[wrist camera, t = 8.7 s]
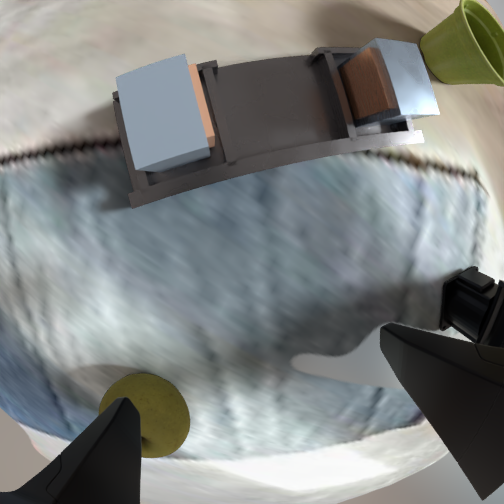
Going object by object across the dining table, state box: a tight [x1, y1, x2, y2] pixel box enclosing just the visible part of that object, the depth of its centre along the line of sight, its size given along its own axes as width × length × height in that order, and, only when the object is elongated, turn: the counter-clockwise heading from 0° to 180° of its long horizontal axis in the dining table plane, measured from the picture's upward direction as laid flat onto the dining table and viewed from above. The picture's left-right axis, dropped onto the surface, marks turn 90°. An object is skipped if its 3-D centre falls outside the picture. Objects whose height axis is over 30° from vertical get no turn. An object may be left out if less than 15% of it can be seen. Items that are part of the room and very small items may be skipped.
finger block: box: [116, 54, 215, 172], centre depth 14 cm, size 5×4×6 cm
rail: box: [112, 38, 439, 209], centre depth 15 cm, size 8×22×7 cm, turn 104°
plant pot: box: [420, 0, 504, 87], centre depth 14 cm, size 9×9×9 cm
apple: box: [99, 373, 190, 458], centre depth 19 cm, size 8×8×7 cm
